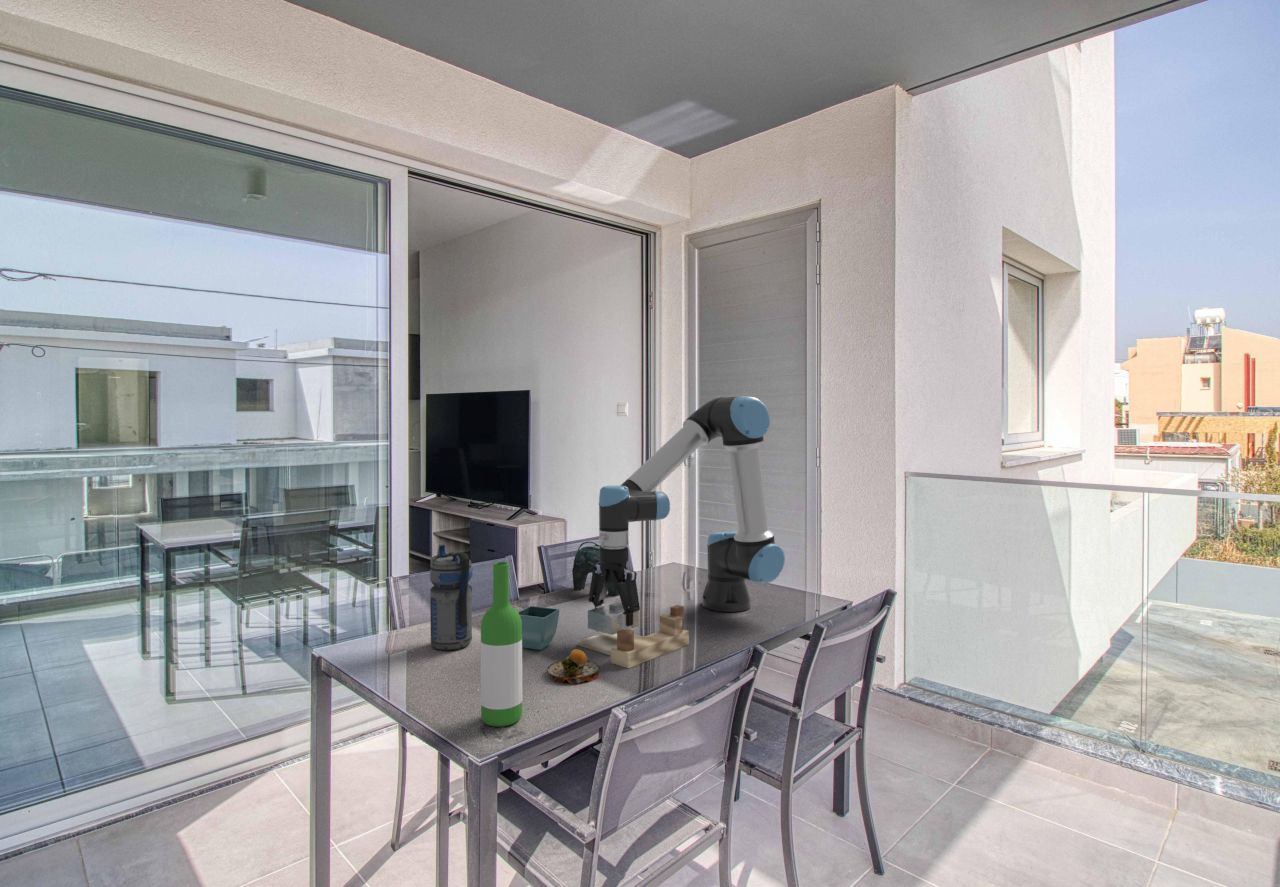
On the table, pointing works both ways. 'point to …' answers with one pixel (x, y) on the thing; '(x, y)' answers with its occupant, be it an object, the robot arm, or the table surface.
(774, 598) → the table surface
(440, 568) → the beverage bottle
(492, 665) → the wine bottle
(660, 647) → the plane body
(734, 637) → the table surface
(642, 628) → the table surface
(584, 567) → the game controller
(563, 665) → the salad plate
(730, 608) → the robot arm
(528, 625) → the flower pot
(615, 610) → the white block with stub
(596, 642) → the ash board
